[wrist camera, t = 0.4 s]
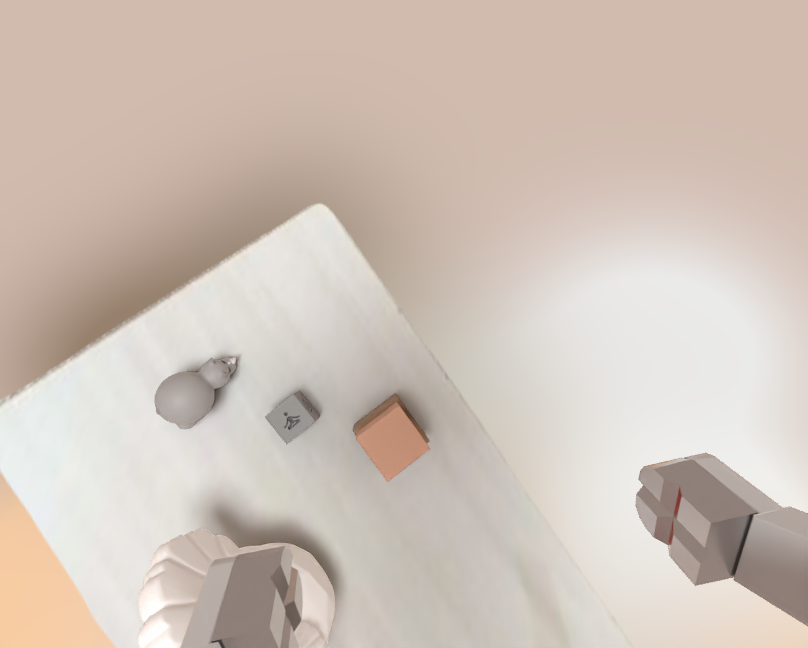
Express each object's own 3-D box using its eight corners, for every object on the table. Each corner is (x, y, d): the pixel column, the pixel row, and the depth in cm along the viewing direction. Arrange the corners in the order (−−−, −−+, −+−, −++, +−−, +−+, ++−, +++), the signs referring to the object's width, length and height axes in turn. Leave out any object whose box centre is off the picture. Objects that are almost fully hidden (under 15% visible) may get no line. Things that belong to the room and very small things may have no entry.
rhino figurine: (252, 382, 61) (253, 371, 53) (184, 438, 55) (174, 434, 48) (222, 350, 61) (218, 334, 53) (150, 402, 55) (135, 392, 48)
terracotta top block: (424, 440, 55) (430, 448, 50) (386, 470, 54) (387, 482, 49) (396, 401, 55) (398, 405, 50) (357, 431, 54) (355, 438, 49)
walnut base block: (424, 434, 60) (429, 441, 55) (384, 465, 59) (385, 475, 54) (395, 393, 60) (397, 396, 55) (354, 424, 59) (352, 430, 54)
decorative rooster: (356, 613, 57) (343, 810, 32) (259, 673, 55) (166, 932, 30) (279, 463, 58) (210, 542, 33) (182, 518, 56) (30, 644, 31)
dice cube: (294, 437, 58) (286, 444, 53) (273, 411, 58) (264, 416, 53) (319, 415, 59) (315, 421, 54) (299, 391, 59) (293, 394, 54)
